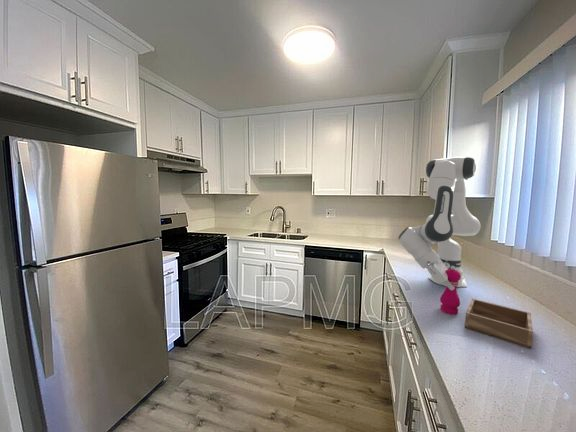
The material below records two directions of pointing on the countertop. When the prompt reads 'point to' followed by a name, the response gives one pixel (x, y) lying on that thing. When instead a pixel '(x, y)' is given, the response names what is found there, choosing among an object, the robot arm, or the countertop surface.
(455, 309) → the pepper mill
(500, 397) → the countertop surface
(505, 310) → the tray
